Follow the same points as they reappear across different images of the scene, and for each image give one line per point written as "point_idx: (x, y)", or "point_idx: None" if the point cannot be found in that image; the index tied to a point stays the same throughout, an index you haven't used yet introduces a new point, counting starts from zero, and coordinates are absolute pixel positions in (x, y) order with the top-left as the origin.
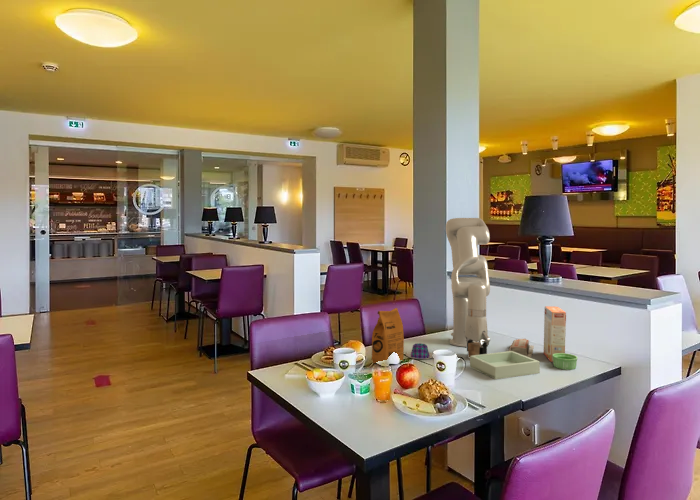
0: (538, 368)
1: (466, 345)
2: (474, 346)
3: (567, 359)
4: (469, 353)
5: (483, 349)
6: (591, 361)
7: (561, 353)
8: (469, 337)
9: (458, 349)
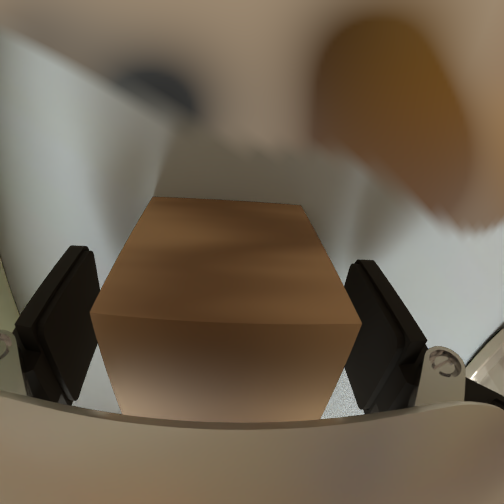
0: None
1: (482, 358)
2: (118, 303)
3: None
4: (278, 224)
5: (18, 334)
6: None
7: None
8: (332, 457)
9: (496, 278)
